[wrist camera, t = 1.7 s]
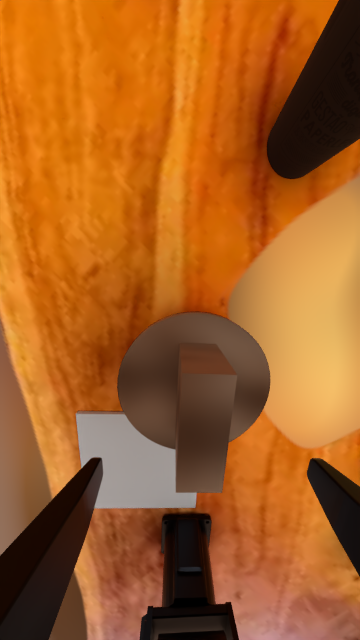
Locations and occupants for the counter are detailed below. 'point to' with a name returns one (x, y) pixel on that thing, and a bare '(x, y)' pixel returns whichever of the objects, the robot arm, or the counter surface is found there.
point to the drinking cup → (322, 100)
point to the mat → (129, 464)
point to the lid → (194, 391)
